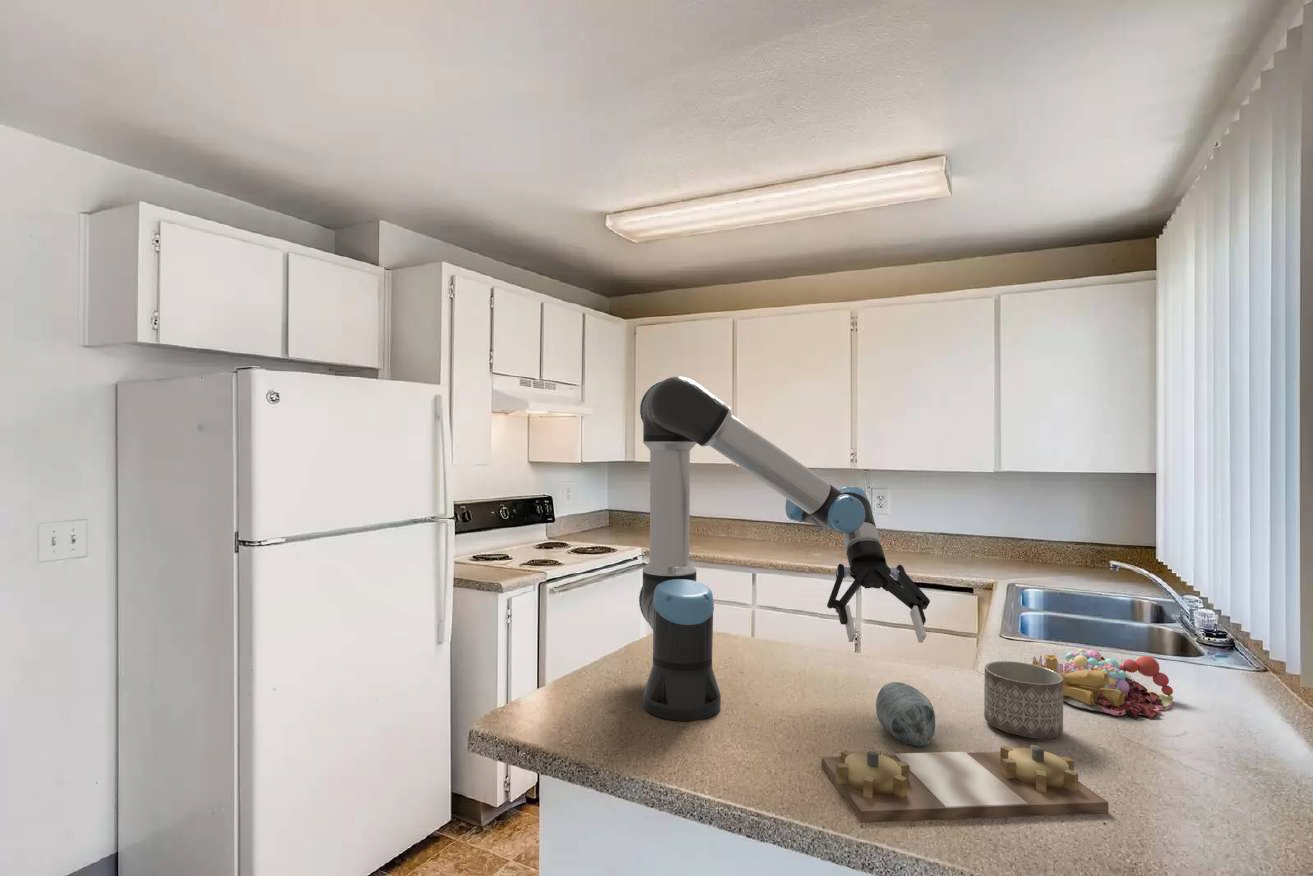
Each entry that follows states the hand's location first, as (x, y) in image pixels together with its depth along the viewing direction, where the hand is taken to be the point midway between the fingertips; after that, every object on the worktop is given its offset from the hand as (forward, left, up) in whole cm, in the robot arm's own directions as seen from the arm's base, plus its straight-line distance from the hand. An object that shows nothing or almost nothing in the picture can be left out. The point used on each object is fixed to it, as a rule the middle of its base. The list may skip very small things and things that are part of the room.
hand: (887, 639), depth 131 cm
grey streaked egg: (-1, -10, -14) cm, 17 cm away
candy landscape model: (+49, +6, -15) cm, 51 cm away
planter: (+22, -9, -14) cm, 28 cm away
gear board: (-2, -29, -14) cm, 32 cm away
